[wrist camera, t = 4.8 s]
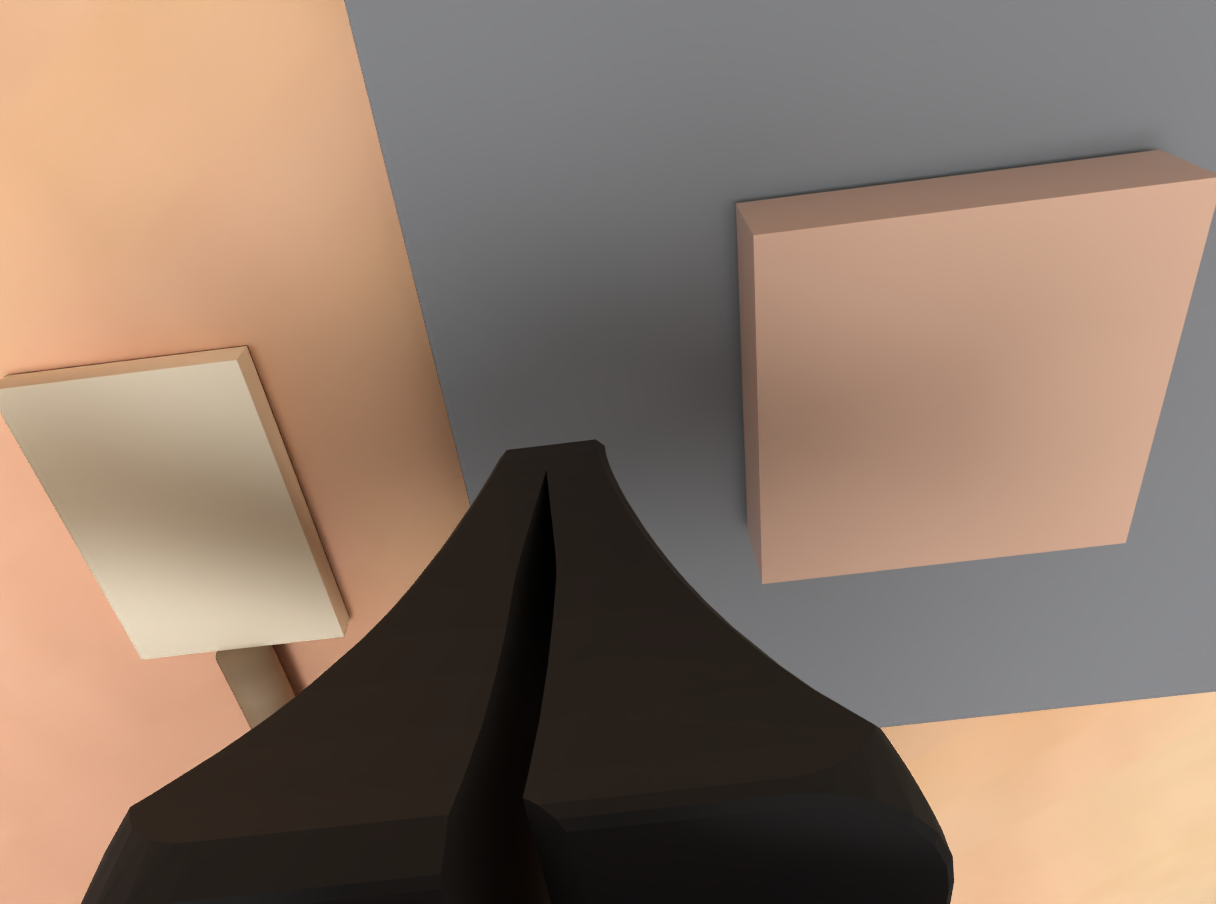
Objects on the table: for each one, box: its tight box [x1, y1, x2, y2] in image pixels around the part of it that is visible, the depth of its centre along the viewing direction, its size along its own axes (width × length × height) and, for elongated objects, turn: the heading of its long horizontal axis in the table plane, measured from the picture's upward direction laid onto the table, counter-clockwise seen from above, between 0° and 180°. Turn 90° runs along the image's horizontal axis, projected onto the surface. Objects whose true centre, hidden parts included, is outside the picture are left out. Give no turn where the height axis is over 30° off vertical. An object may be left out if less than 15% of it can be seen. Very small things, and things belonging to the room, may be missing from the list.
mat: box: [344, 0, 1216, 728], centre depth 14 cm, size 18×16×1 cm
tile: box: [736, 150, 1216, 584], centre depth 13 cm, size 6×2×6 cm
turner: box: [0, 346, 350, 729], centre depth 17 cm, size 13×4×1 cm, turn 7°
